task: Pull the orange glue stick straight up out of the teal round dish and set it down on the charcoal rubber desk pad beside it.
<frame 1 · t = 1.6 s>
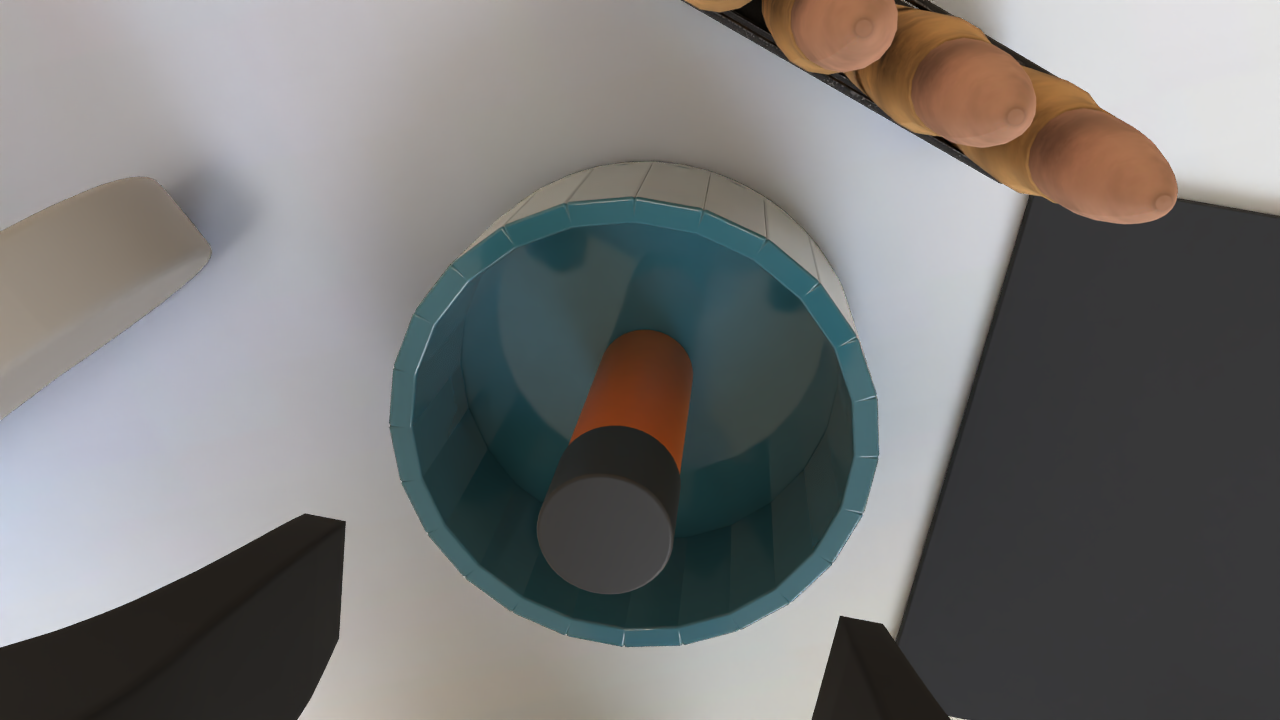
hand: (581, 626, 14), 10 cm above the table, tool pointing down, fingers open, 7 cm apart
glue stick: (646, 373, 24), resting on teal round dish
teal round dish: (647, 367, 24), on the table
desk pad: (1264, 520, 24), on the table
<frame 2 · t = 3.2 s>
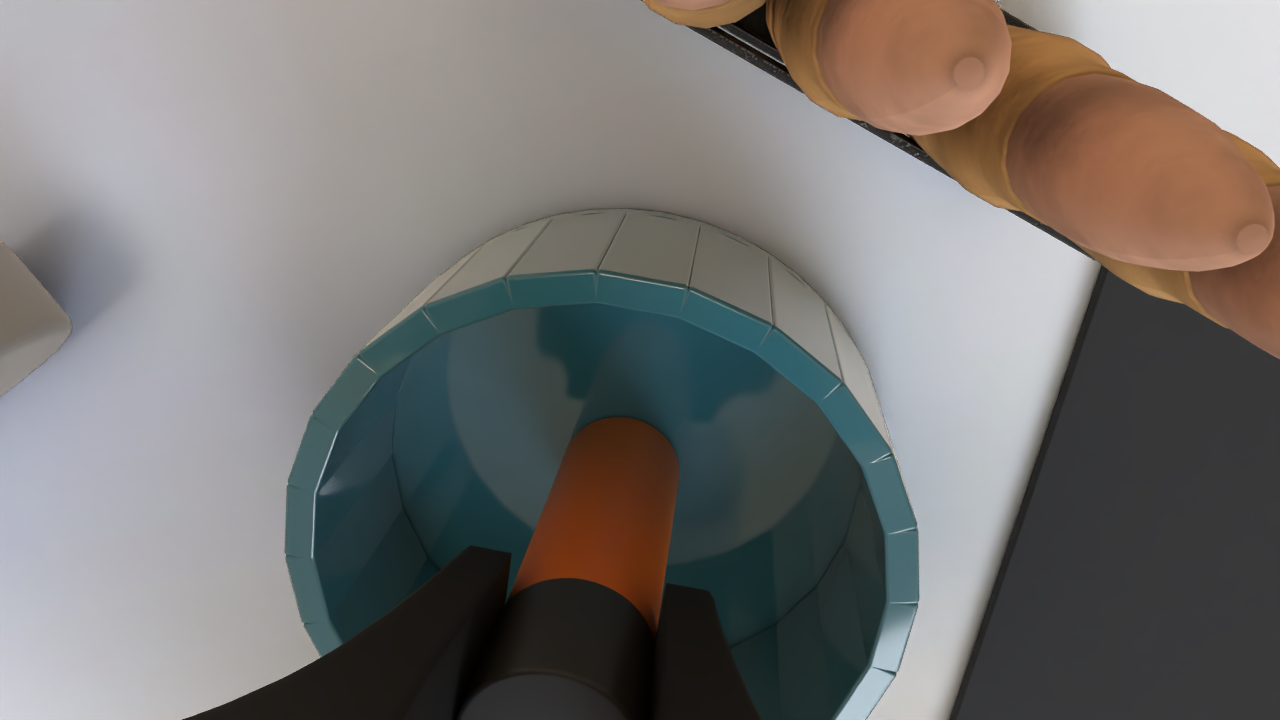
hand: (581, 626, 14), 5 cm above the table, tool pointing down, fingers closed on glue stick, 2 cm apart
glue stick: (621, 468, 19), resting on teal round dish, touching gripper
teal round dish: (623, 459, 19), on the table
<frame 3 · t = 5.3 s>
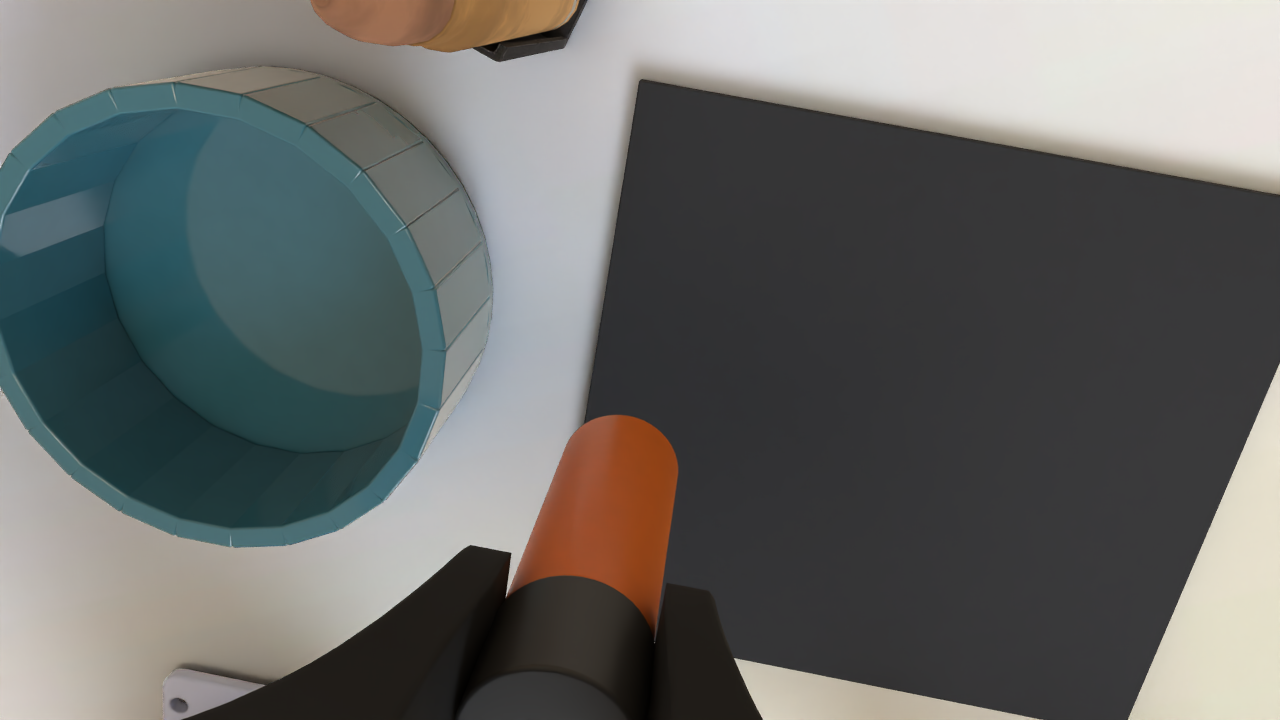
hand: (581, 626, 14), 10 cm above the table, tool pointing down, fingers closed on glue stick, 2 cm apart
glue stick: (620, 467, 19), point 5 cm above the table, touching gripper
teal round dish: (292, 278, 24), on the table
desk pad: (901, 434, 24), on the table
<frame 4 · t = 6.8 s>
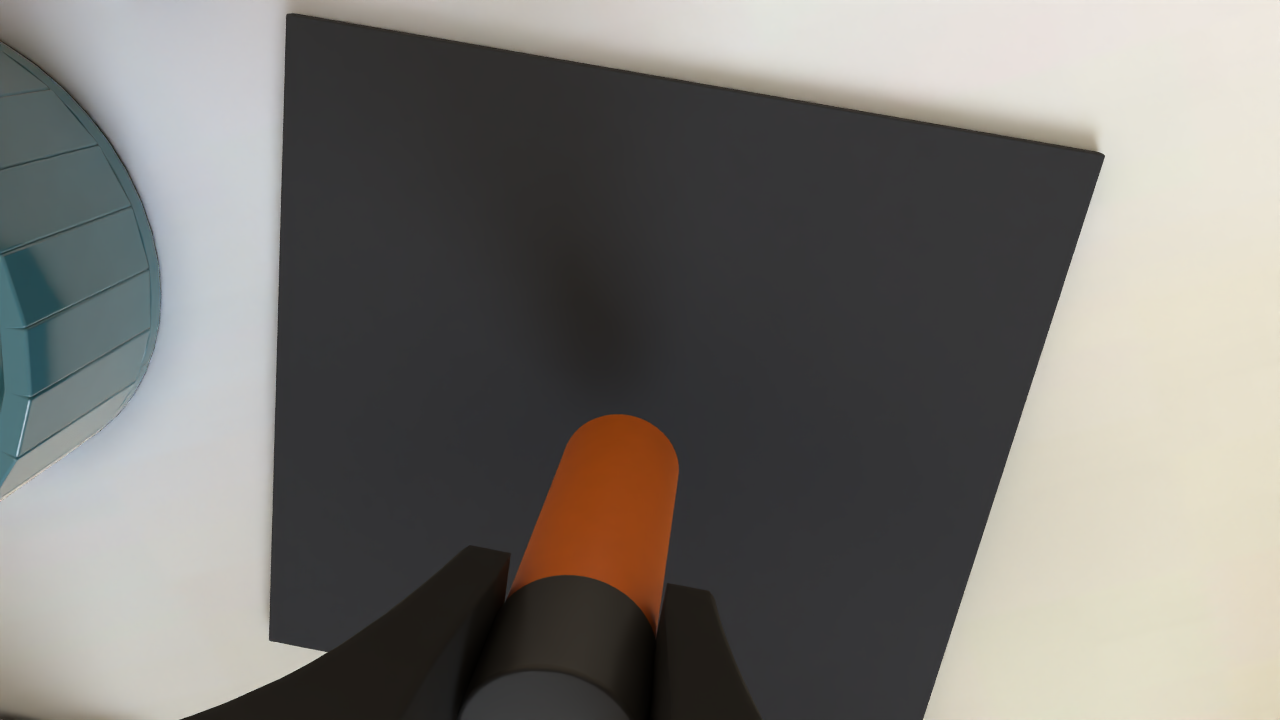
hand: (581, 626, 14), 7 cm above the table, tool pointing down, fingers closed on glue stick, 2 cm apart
glue stick: (620, 466, 19), point 2 cm above the table, touching gripper
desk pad: (632, 424, 21), on the table
when the fingers open (5 cm above the table, at t = 7.6 s): glue stick stays where it is, resting on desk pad.
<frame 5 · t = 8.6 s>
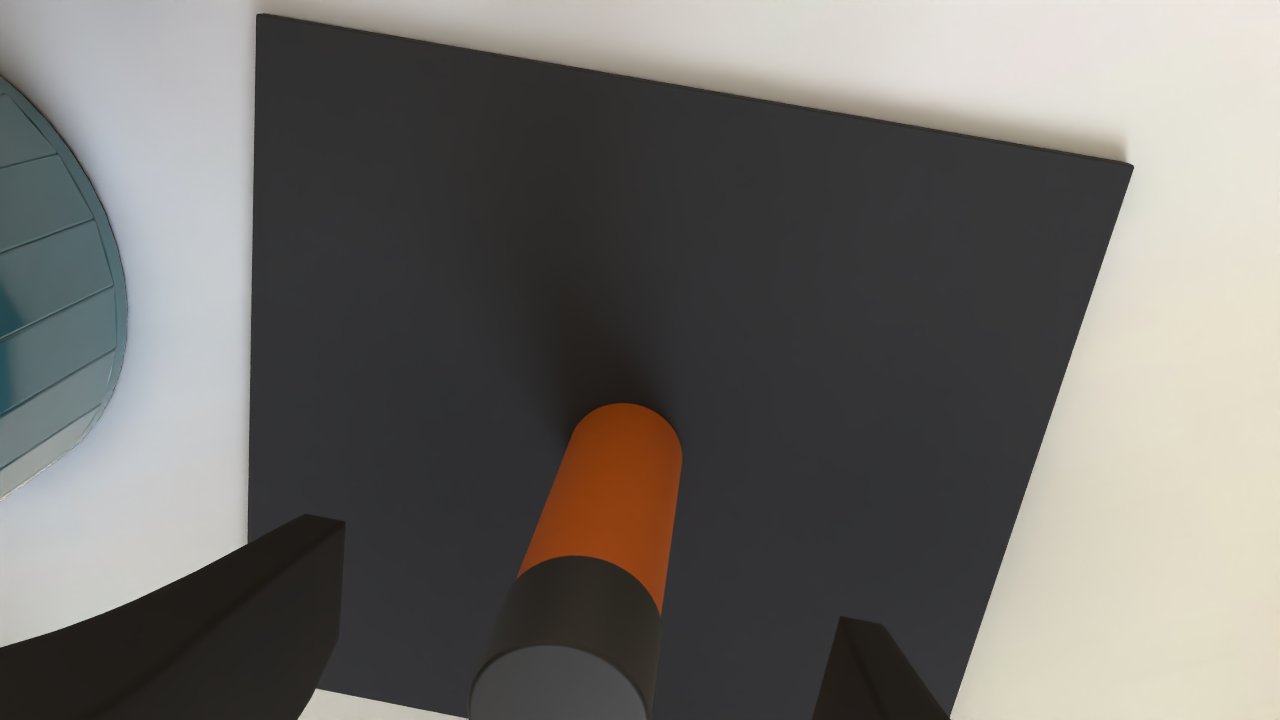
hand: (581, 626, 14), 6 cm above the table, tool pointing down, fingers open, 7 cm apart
glue stick: (625, 454, 20), resting on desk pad
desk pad: (627, 450, 20), on the table
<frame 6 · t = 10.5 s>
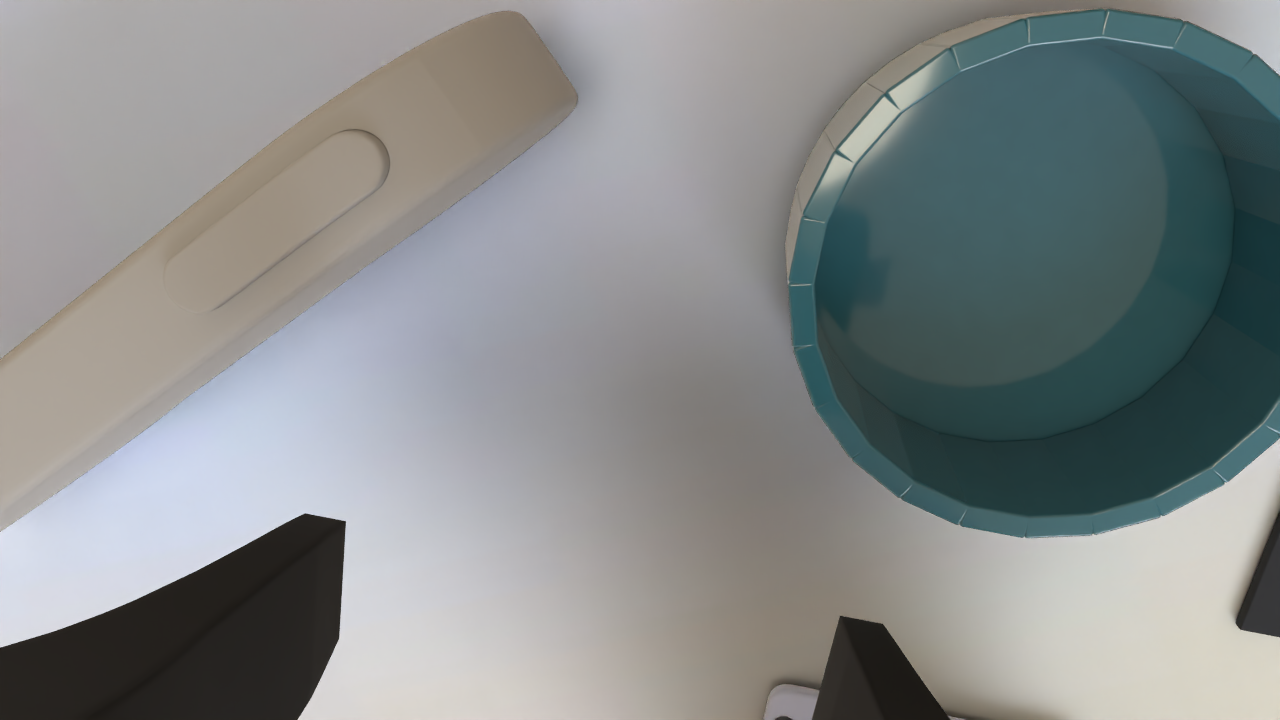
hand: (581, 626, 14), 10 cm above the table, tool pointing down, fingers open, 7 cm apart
teal round dish: (1010, 248, 22), on the table
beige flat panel: (271, 285, 25), on the table
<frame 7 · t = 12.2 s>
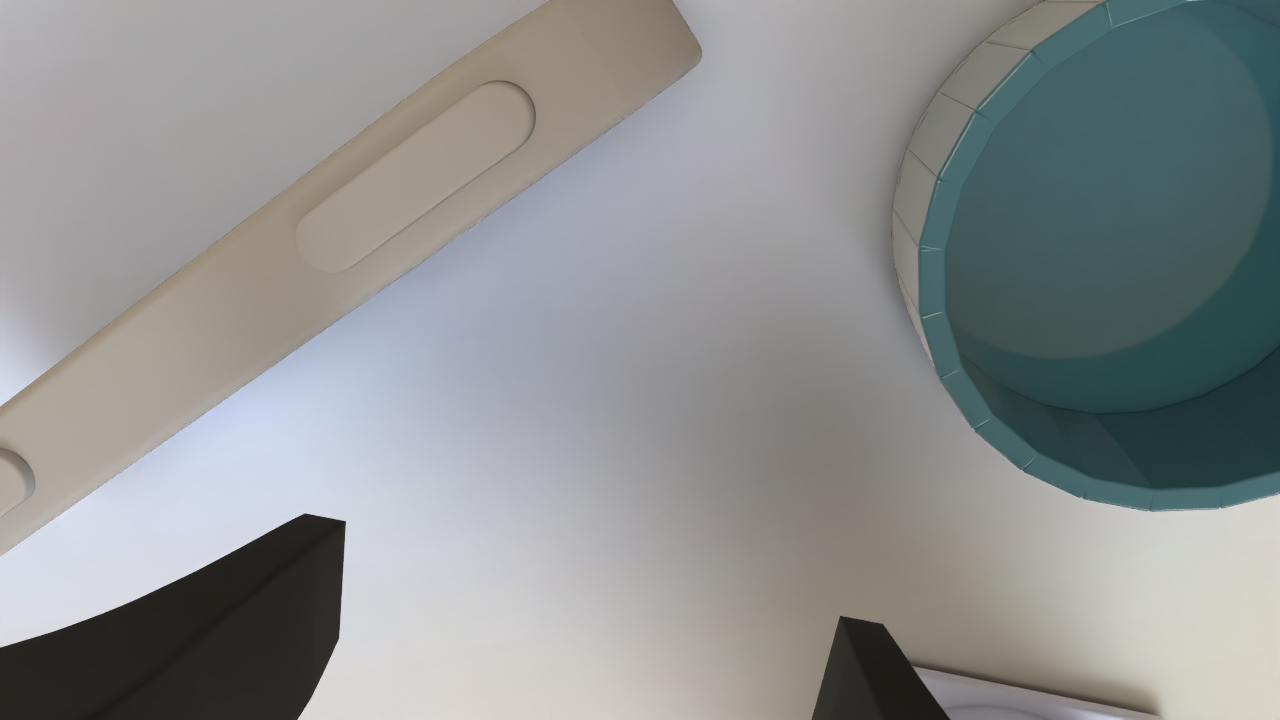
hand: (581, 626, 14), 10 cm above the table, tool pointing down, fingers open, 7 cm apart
teal round dish: (1124, 215, 22), on the table
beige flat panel: (352, 250, 24), on the table
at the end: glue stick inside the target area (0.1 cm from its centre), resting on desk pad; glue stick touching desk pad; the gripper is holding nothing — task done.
